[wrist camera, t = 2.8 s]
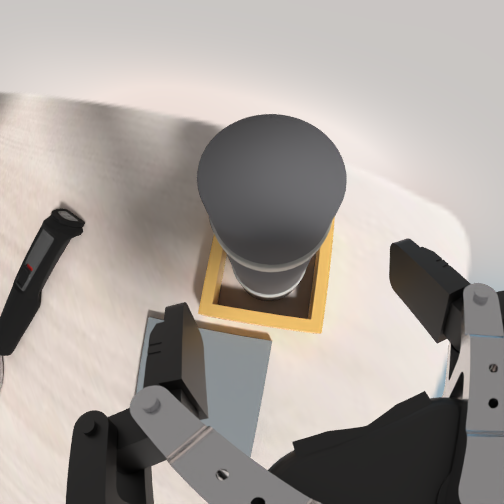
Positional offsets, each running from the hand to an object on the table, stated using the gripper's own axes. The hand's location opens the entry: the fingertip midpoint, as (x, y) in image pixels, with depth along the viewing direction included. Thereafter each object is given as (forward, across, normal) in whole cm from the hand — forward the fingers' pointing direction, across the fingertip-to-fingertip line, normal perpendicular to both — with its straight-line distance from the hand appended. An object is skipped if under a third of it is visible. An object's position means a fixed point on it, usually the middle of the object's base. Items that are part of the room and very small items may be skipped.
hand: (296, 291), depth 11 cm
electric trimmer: (+13, +20, +3) cm, 24 cm away
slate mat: (+5, +7, +10) cm, 13 cm away
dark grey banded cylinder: (+10, 0, +5) cm, 11 cm away
